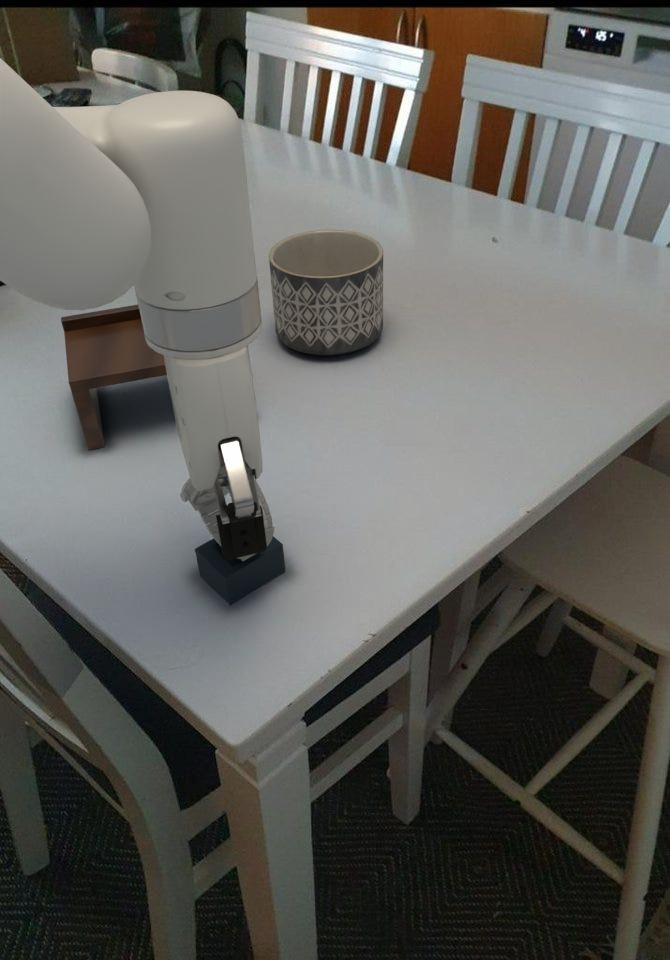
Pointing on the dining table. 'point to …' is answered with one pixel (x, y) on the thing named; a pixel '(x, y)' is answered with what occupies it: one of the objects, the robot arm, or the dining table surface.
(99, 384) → the shelf
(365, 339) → the planter
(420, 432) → the dining table surface
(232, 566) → the watch
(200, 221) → the robot arm
